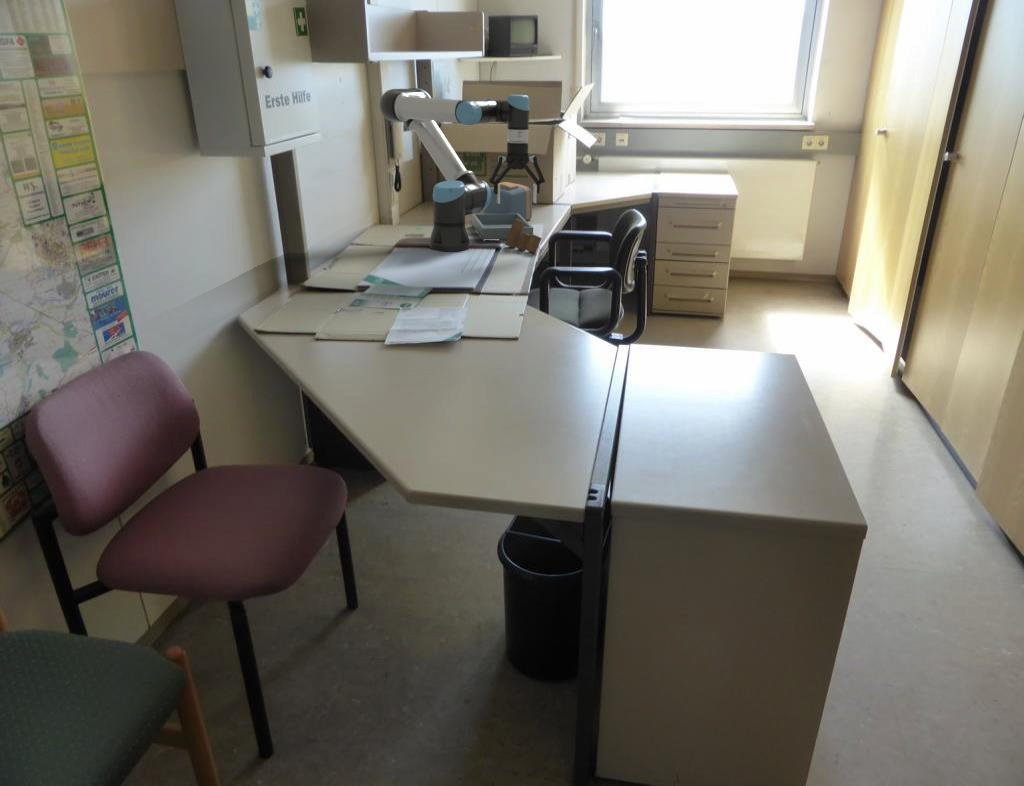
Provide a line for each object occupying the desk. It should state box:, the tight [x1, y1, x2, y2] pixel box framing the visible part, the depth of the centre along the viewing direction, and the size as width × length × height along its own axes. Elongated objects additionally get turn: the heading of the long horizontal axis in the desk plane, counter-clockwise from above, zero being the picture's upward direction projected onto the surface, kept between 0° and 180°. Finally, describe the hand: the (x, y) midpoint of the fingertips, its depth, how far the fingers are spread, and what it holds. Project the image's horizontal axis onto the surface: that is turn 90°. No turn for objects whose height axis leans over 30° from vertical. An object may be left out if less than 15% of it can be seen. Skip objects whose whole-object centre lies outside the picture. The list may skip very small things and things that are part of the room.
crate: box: [471, 213, 534, 242], centre depth 297 cm, size 20×28×5 cm
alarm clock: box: [483, 181, 533, 221], centre depth 320 cm, size 16×16×16 cm
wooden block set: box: [504, 219, 542, 254], centre depth 274 cm, size 18×9×10 cm, turn 28°
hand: (516, 202), depth 267 cm, fingers open, 13 cm apart
